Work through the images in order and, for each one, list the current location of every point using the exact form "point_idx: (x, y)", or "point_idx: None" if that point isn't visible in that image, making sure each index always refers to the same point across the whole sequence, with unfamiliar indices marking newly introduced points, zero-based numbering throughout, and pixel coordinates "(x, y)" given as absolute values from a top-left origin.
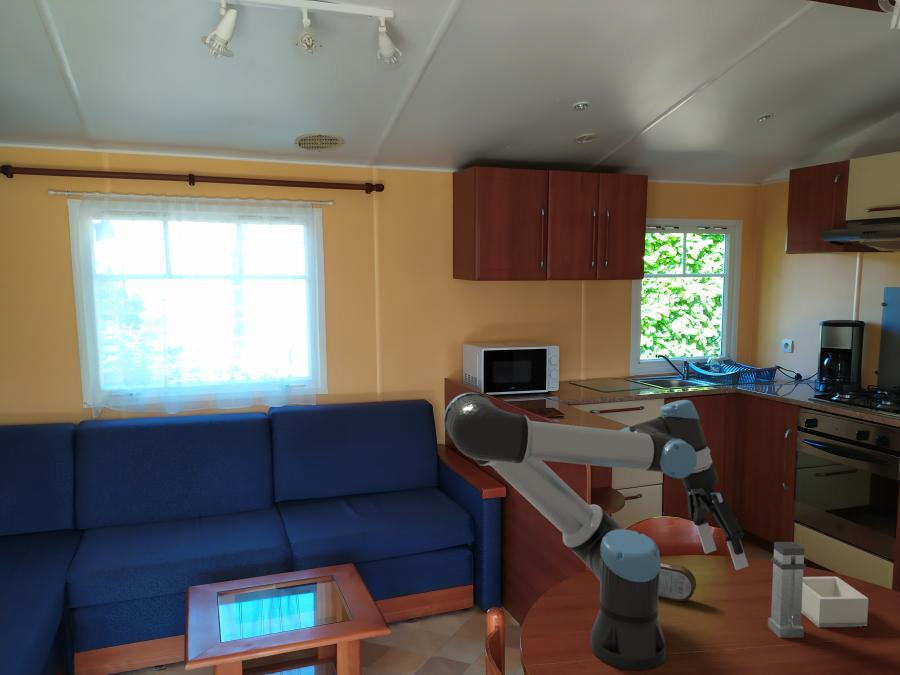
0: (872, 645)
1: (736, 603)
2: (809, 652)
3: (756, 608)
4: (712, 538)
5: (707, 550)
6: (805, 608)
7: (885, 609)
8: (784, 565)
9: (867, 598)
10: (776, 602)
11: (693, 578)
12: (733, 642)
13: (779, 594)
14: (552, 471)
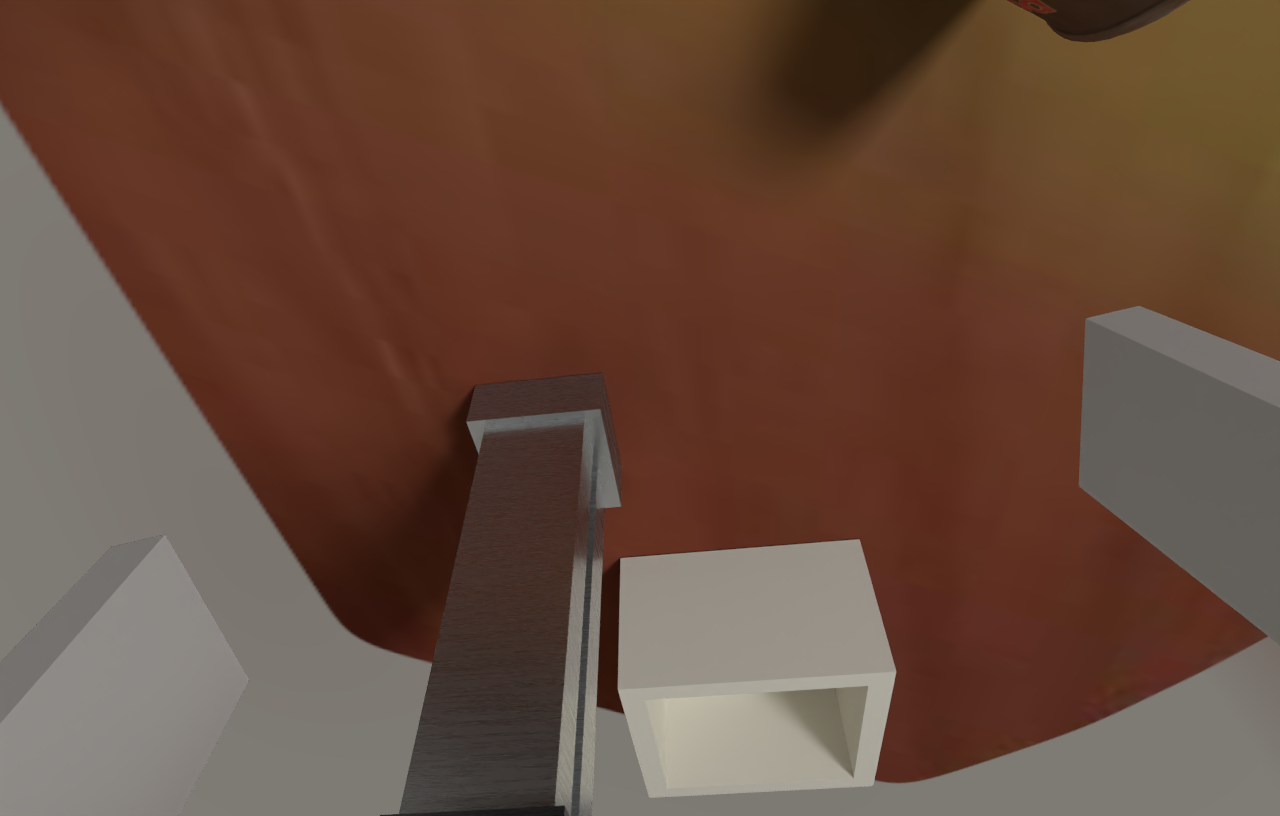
0: None
1: (898, 299)
2: (360, 456)
3: (820, 385)
4: (1233, 598)
5: (1115, 369)
6: (734, 580)
7: None
8: None
9: (649, 795)
10: (517, 525)
11: (1082, 13)
12: (319, 94)
13: (472, 591)
14: None
